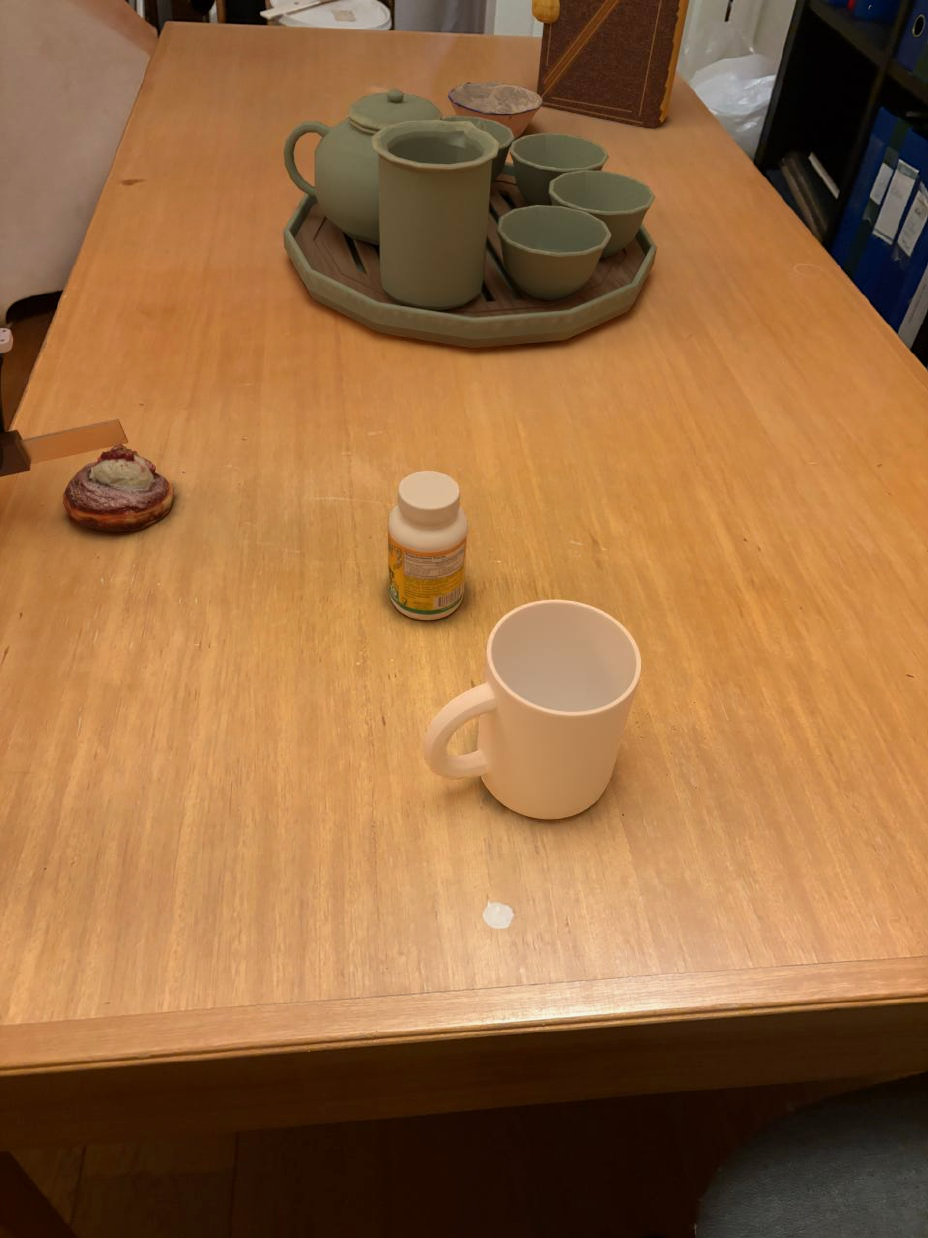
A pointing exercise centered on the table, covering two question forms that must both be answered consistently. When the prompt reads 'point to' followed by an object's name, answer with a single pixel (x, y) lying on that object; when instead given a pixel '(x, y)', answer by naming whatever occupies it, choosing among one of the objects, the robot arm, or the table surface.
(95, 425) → the knife
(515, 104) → the bowl
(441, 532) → the supplement bottle
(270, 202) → the table surface
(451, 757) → the mug
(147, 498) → the pastry
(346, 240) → the tea set
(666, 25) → the book
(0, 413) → the robot arm
